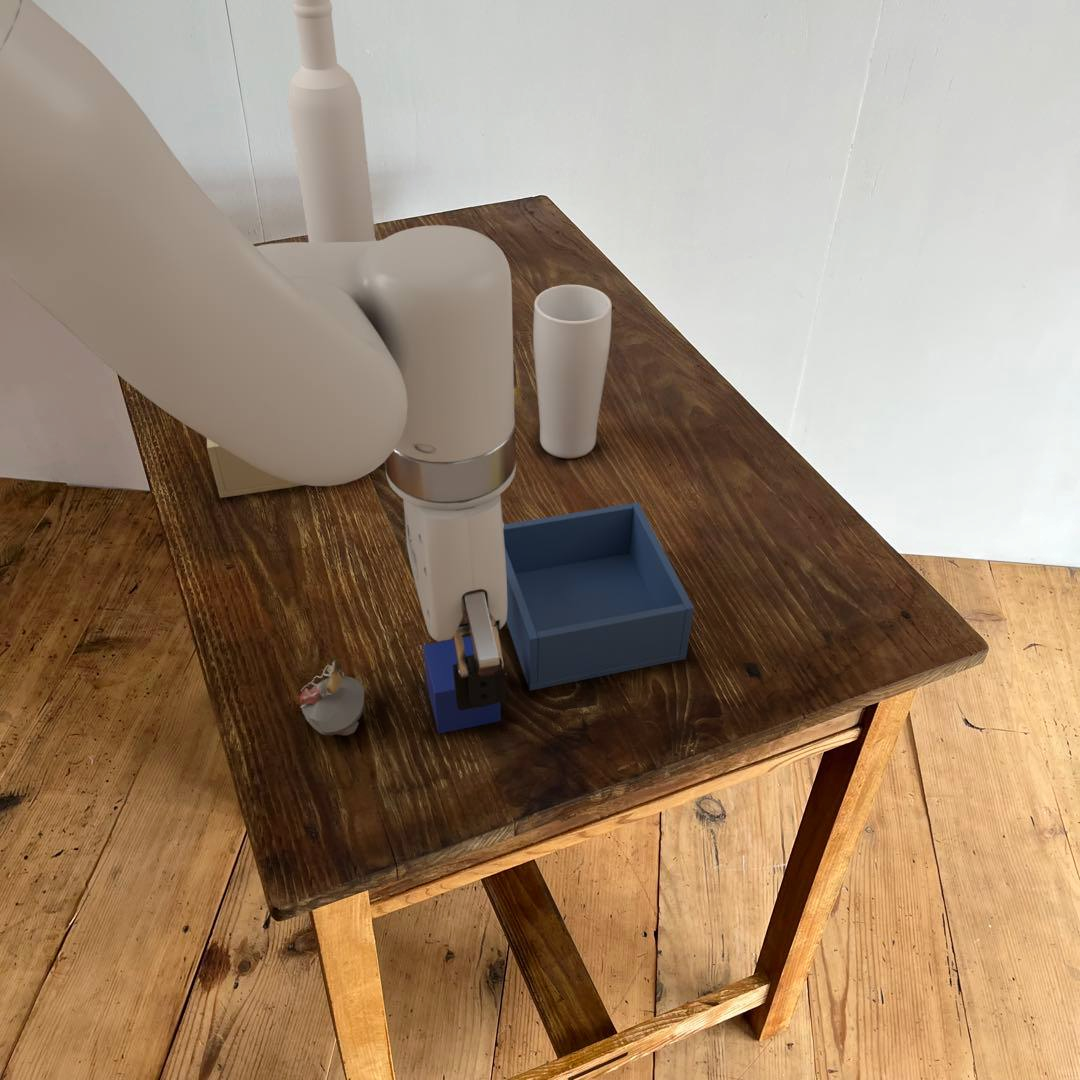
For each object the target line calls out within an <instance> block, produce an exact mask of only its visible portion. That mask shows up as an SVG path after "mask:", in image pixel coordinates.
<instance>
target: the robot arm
mask: <svg viewBox="0 0 1080 1080" xmlns="http://www.w3.org/2000/svg"><path fill="white" fill-rule="evenodd" d="M0 270H1V271H2V272H3V273H4V274H5V275H6V276H7V277H8V278H9V279H10V280H11V281H12V282H13V283H14V284H15V285H16V286H18V288H20V289H21V290H22V291H23V292H24V293H25V294H26V295H28V296H29V297H30V298H31V299H32V300H33V301H35V302H36V303H37V304H38V305H39V306H41V308H43V309H44V310H45V311H47V312H48V313H49V314H50V315H51V316H52V317H53V318H54V319H56V321H57V322H59V324H61V325H62V327H64V328H66V330H68V331H69V332H70V333H71V334H72V335H73V336H74V337H75V338H76V339H78V341H80V342H81V343H82V344H83V345H84V346H85V347H86V348H87V349H89V350H90V351H91V352H92V354H94V355H95V356H96V357H98V358H99V360H101V361H102V362H103V363H104V364H105V365H106V366H108V367H109V368H110V369H111V370H112V371H113V372H114V373H116V374H117V375H118V376H119V377H121V378H122V379H123V380H124V381H125V382H126V383H128V384H129V385H130V386H131V387H133V388H134V389H135V390H137V392H139V394H141V395H143V396H144V397H145V398H146V399H148V400H149V401H150V402H152V403H153V404H155V405H156V406H157V407H158V408H160V409H161V410H163V411H165V413H167V414H169V415H170V416H172V417H173V418H174V419H176V420H178V421H179V422H180V423H181V424H183V425H185V426H187V427H189V428H190V429H191V430H193V431H194V432H196V433H198V434H199V435H201V436H203V437H204V438H206V440H207V439H209V440H211V441H212V442H214V443H216V444H217V445H219V446H221V447H222V448H224V449H225V450H227V451H229V452H230V453H232V454H234V455H235V456H237V457H239V458H240V459H242V460H244V461H245V462H247V463H249V464H250V465H252V466H254V467H256V468H258V469H259V470H261V471H264V472H266V473H268V474H270V475H272V476H275V477H277V478H280V479H284V480H287V481H290V482H293V483H297V484H304V485H303V486H310V487H333V486H338V485H345V484H347V483H351V482H354V481H356V480H357V481H358V480H359V479H361V478H363V477H366V476H367V475H368V474H370V473H372V472H374V471H375V470H376V469H377V468H379V467H380V466H381V465H383V464H384V468H385V475H386V480H387V483H388V486H389V487H390V488H391V490H392V491H393V492H394V493H395V494H396V495H397V496H398V497H399V498H401V499H402V501H403V511H404V512H403V513H404V525H405V537H406V539H405V540H406V547H407V549H406V550H407V553H408V559H409V564H410V568H411V572H412V576H413V581H414V584H415V588H416V592H417V597H418V600H419V605H420V607H421V611H422V615H423V619H424V624H425V626H426V629H427V633H428V635H429V636H430V637H431V638H432V639H433V640H434V641H436V642H443V641H448V640H453V644H454V649H455V655H456V661H457V664H455V665H453V676H454V686H455V697H456V704H457V707H458V709H459V710H466V709H471V708H480V707H485V706H489V705H491V704H494V703H499V702H500V703H503V702H504V701H506V698H507V691H506V690H507V689H506V688H507V687H506V666H505V665H506V664H505V663H506V662H505V658H504V655H503V652H502V646H501V645H502V644H501V640H500V635H499V630H501V629H502V628H503V627H504V626H505V625H506V623H507V622H506V620H507V575H506V558H505V544H504V531H503V528H504V525H505V523H504V520H503V509H502V497H501V494H502V493H503V492H505V491H506V490H507V489H508V488H509V486H510V485H511V484H512V482H513V480H514V478H515V476H516V472H517V454H516V453H517V451H516V421H515V419H516V418H515V381H514V379H515V378H514V370H515V369H514V329H513V327H514V326H513V287H512V273H511V267H510V264H509V261H508V260H507V257H506V255H505V252H504V251H503V250H502V249H501V248H500V246H498V244H497V243H496V242H495V241H494V240H492V239H491V238H489V237H488V236H486V235H485V234H482V233H481V232H479V231H476V230H473V229H470V228H467V227H462V226H456V225H443V224H441V225H440V224H436V225H423V226H415V227H411V228H407V229H404V230H400V231H398V232H395V233H392V234H390V235H389V236H387V237H385V238H382V239H380V240H376V241H364V242H309V241H307V242H306V241H296V242H295V241H292V242H291V241H290V242H289V241H287V242H275V243H267V244H261V245H254V243H252V242H251V241H250V240H249V239H248V238H247V237H246V236H245V235H244V234H243V233H242V231H240V230H239V228H238V227H236V225H234V223H233V222H231V220H230V219H229V218H228V217H227V216H226V215H225V214H224V213H223V212H222V211H221V210H220V209H219V208H218V206H217V205H216V204H215V203H214V202H213V201H212V200H211V198H210V197H209V196H208V195H207V194H206V193H205V192H204V190H203V189H202V188H201V186H200V185H199V184H198V183H197V182H196V181H195V179H194V178H193V177H192V176H191V175H190V173H189V172H188V171H187V170H186V168H185V167H184V166H183V164H182V163H181V161H179V159H178V158H177V156H176V155H175V153H174V152H173V151H172V149H171V148H170V146H168V144H167V143H166V141H165V140H164V139H163V137H162V135H161V134H160V133H159V132H158V130H157V128H156V127H155V126H154V124H153V123H152V121H151V120H150V118H149V117H148V116H147V114H146V113H145V111H144V110H143V109H142V108H141V107H140V106H139V104H138V103H137V101H136V100H135V99H134V98H133V97H132V95H131V94H130V93H129V91H128V90H127V89H126V88H125V87H124V86H123V85H122V84H121V82H120V81H119V80H118V79H117V78H116V77H115V75H113V74H112V72H111V71H110V70H109V69H108V68H107V67H106V66H105V64H104V63H103V62H102V61H101V60H100V59H99V58H98V57H97V56H96V55H95V54H94V53H93V52H92V51H91V50H90V49H89V48H88V47H87V46H86V45H85V44H83V43H82V42H81V41H80V40H79V39H77V38H76V37H75V36H74V35H73V34H72V33H70V32H69V31H68V30H67V29H66V28H65V27H63V26H62V25H61V24H60V23H59V22H57V21H56V20H55V19H54V17H51V15H49V14H48V13H47V12H46V11H44V9H43V8H41V7H40V6H39V5H38V4H37V3H35V1H33V0H0ZM464 613H465V616H466V620H467V622H466V623H465V622H464V623H462V620H463V618H464ZM466 636H471V639H472V644H473V649H474V655H471V656H466V654H465V648H464V643H463V638H464V637H466Z"/></svg>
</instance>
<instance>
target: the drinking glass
mask: <svg viewBox="0 0 1080 1080" xmlns="http://www.w3.org/2000/svg"><path fill="white" fill-rule="evenodd" d="M612 304H613V303H612V302H611V299H610V298H609V296H608V295H607V294H605V293H604V292H603V291H601V290H599V289H597V288H594V287H591V286H587V285H583V284H582V285H581V284H561V285H556V286H552V287H549V288H546V289H545V290H543V291H541V292H540V293H539V294H538V295H537V296H536V297H535V299H534V303H533V317H532V318H533V319H532V348H533V361H534V371H535V383H536V395H537V407H538V417H539V418H538V419H539V442H540V445H541V447H542V449H543V450H544V451H545V452H546V453H548V454H549V455H551V456H552V457H557V458H560V459H565V460H566V459H567V460H568V459H569V460H570V459H577V458H581V457H584V456H586V455H588V454H589V453H591V451H592V450H593V449H594V448H595V446H596V443H597V433H598V422H599V417H600V410H601V403H602V399H603V392H604V385H605V379H606V375H607V374H606V373H607V368H608V362H609V354H610V349H611V348H610V347H611V337H612V318H613V317H612V315H613V312H612V311H613V310H612V309H613V307H612V306H613V305H612Z"/></svg>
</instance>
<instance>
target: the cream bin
mask: <svg viewBox="0 0 1080 1080" xmlns="http://www.w3.org/2000/svg"><path fill="white" fill-rule="evenodd" d="M206 449H207V453H208V458H209V461H210V464H211V469H212V472H213V477H214V479H215V483H216V487H217V492H218V495H219V496H218V497H219V498H220V499H223V498H229V497H230V498H231V497H237V496H245V495H250V494H257V493H263V492H270V491H275V490H282V489H290V488H295V487H300V486H302V487H303V486H305V485H304V484H297V483H293V482H290V481H287V480H284V479H280V478H277V477H275V476H272V475H270V474H268V473H266V472H264V471H261V470H259V469H258V468H256V467H254V466H252V465H250V464H249V463H247V462H245V461H244V460H242V459H240V458H239V457H237V456H235V455H234V454H232V453H230V452H229V451H227V450H225V449H224V448H222V447H221V446H219V445H217V444H216V443H214V442H212V441H211V440H209V439H207V438H206Z"/></svg>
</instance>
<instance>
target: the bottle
mask: <svg viewBox="0 0 1080 1080" xmlns="http://www.w3.org/2000/svg"><path fill="white" fill-rule="evenodd" d="M292 10H293V13H294V15H295V21H296V28H297V35H298V42H299V44H298V45H299V51H300V58H301V66H299V69H298V70H297V71H296V72H295V74H293V76H292V77H291V79H290V84H289V89H288V94H287V107H288V113H289V120H290V127H291V133H292V140H293V147H294V152H295V160H296V166H297V173H298V181H299V186H300V193H301V201H302V206H303V213H304V220H305V227H306V234H307V238H308V242H364V241H377V238H376V233H375V232H376V231H375V223H374V213H373V204H372V203H373V202H372V192H371V183H370V175H369V174H370V173H369V165H368V154H367V144H366V135H365V127H364V116H363V107H362V97H361V95H360V92H359V89H358V86H357V85H356V83H355V80H354V78H353V76H352V75H351V73H349V72H348V71H347V70H346V69H344V68H343V67H342V66H341V65H340V64H339V63H338V58H337V49H336V42H335V41H336V40H335V32H334V23H333V15H332V12H333V4H332V2H331V1H330V0H293V5H292Z"/></svg>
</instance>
